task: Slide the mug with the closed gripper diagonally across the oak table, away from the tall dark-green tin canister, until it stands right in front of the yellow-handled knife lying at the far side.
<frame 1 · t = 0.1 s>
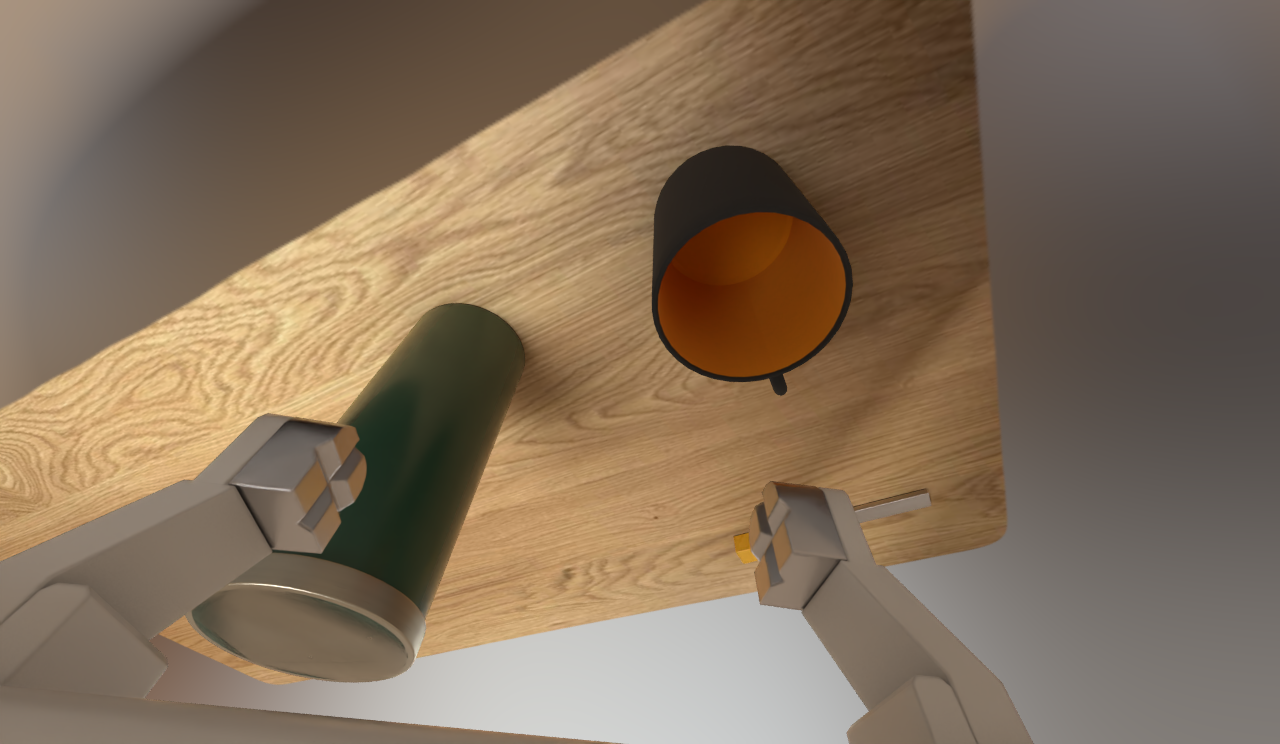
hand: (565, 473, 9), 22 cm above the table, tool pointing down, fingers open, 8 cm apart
mug: (732, 246, 29), on the table
canister: (470, 351, 34), on the table
knife: (821, 521, 45), on the table
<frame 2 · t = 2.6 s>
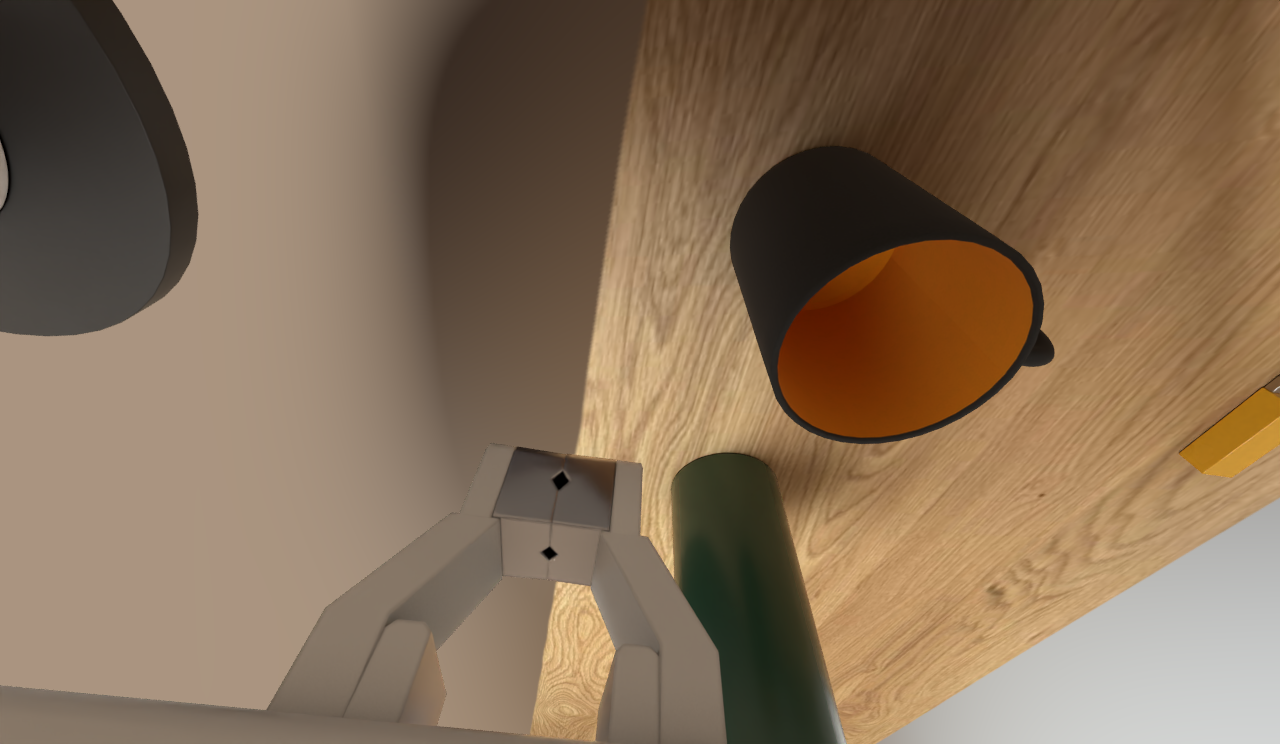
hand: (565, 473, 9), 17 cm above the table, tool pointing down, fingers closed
mug: (846, 241, 24), on the table
canister: (723, 488, 36), on the table
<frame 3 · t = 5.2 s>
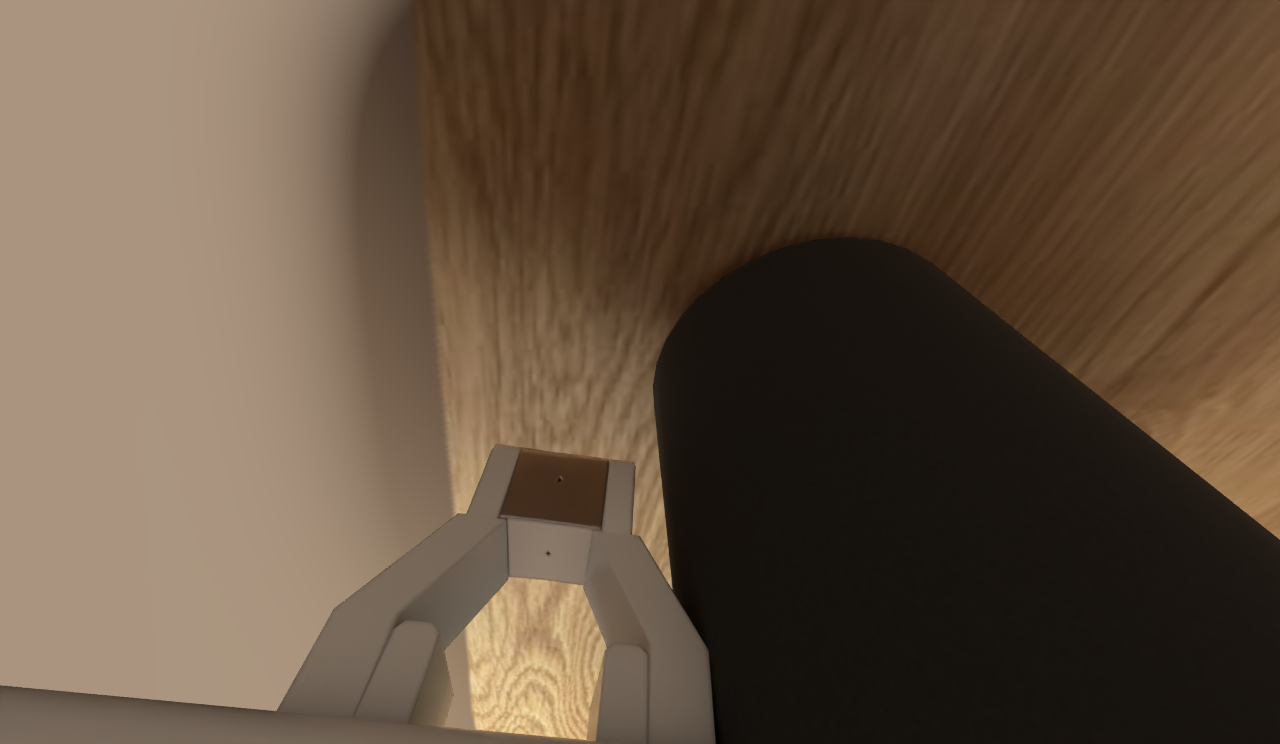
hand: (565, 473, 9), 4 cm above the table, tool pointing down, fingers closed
mug: (859, 384, 13), on the table, touching gripper
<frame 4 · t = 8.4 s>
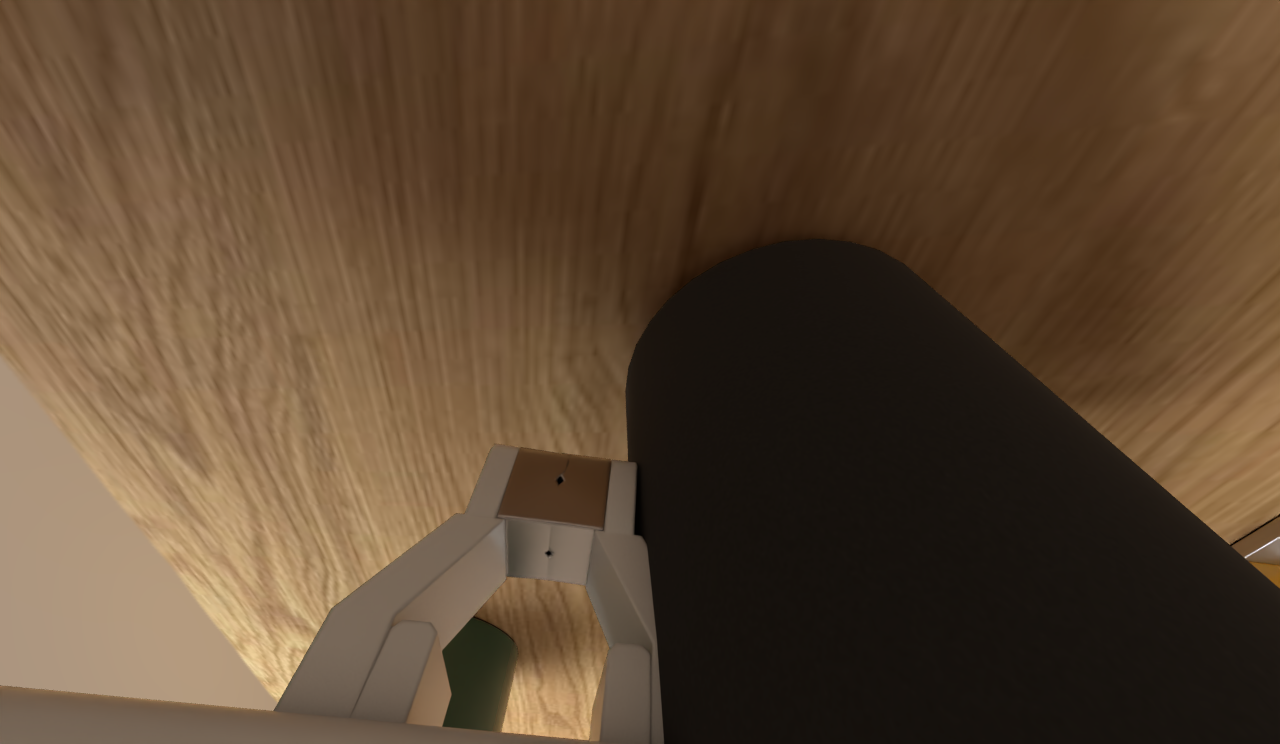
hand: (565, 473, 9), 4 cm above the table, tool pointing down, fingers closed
mug: (837, 387, 13), on the table, touching gripper
canister: (441, 644, 24), on the table
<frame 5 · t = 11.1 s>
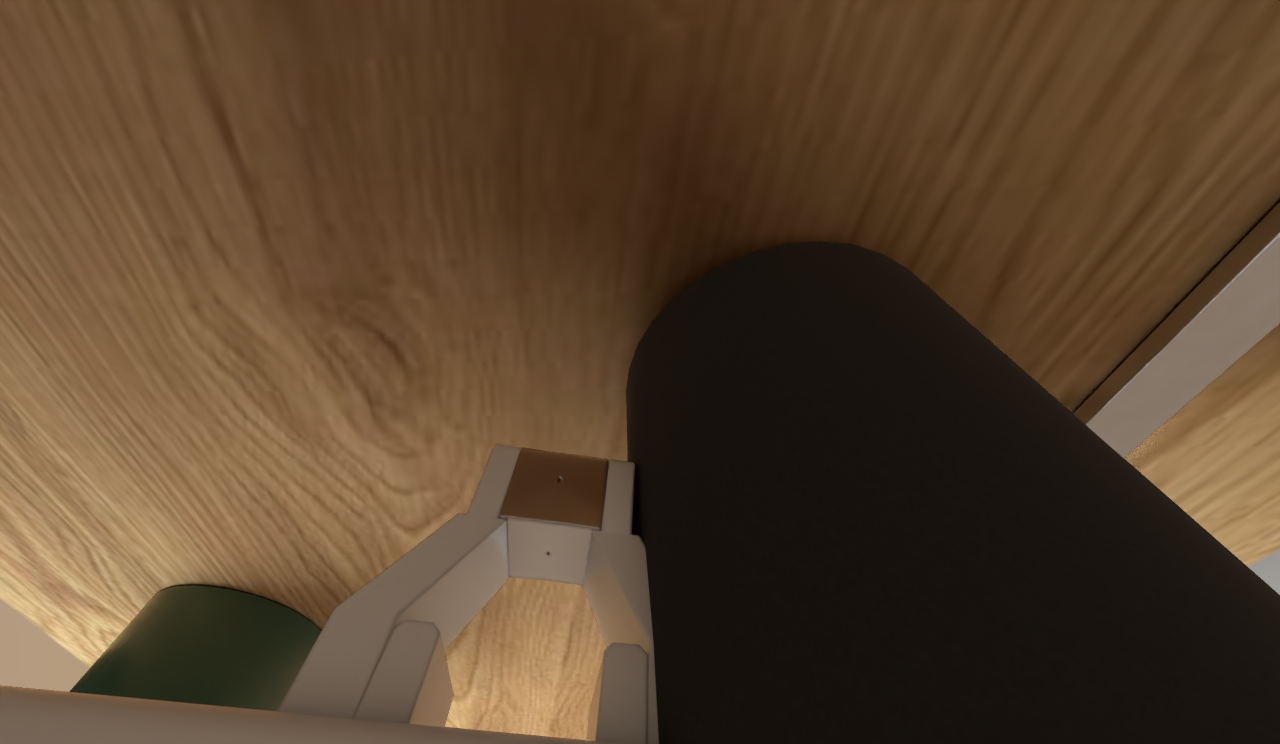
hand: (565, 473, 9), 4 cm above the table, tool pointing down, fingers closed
mug: (838, 391, 13), on the table, touching gripper
canister: (243, 625, 24), on the table
knife: (1045, 475, 15), on the table
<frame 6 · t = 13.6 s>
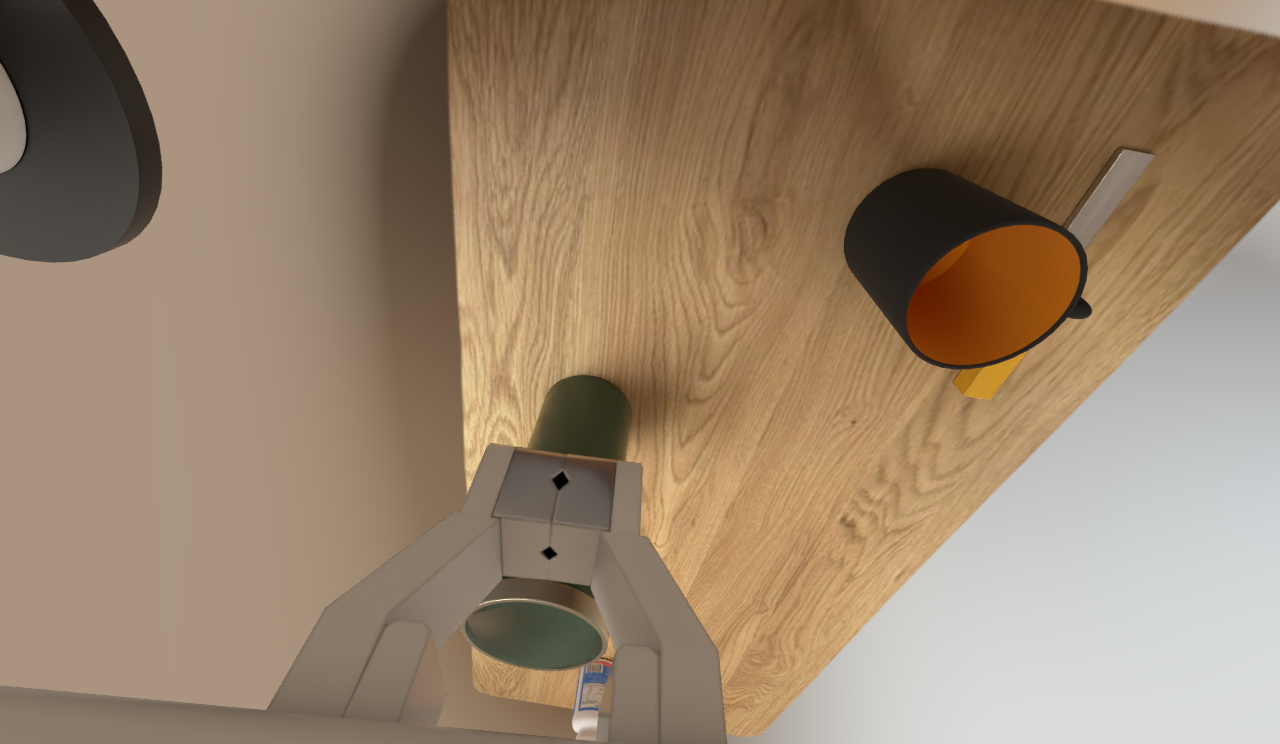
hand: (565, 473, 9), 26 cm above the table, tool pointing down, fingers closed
mug: (931, 238, 32), on the table
canister: (587, 410, 43), on the table
knife: (1031, 292, 34), on the table
pill bottle: (600, 664, 73), on the table
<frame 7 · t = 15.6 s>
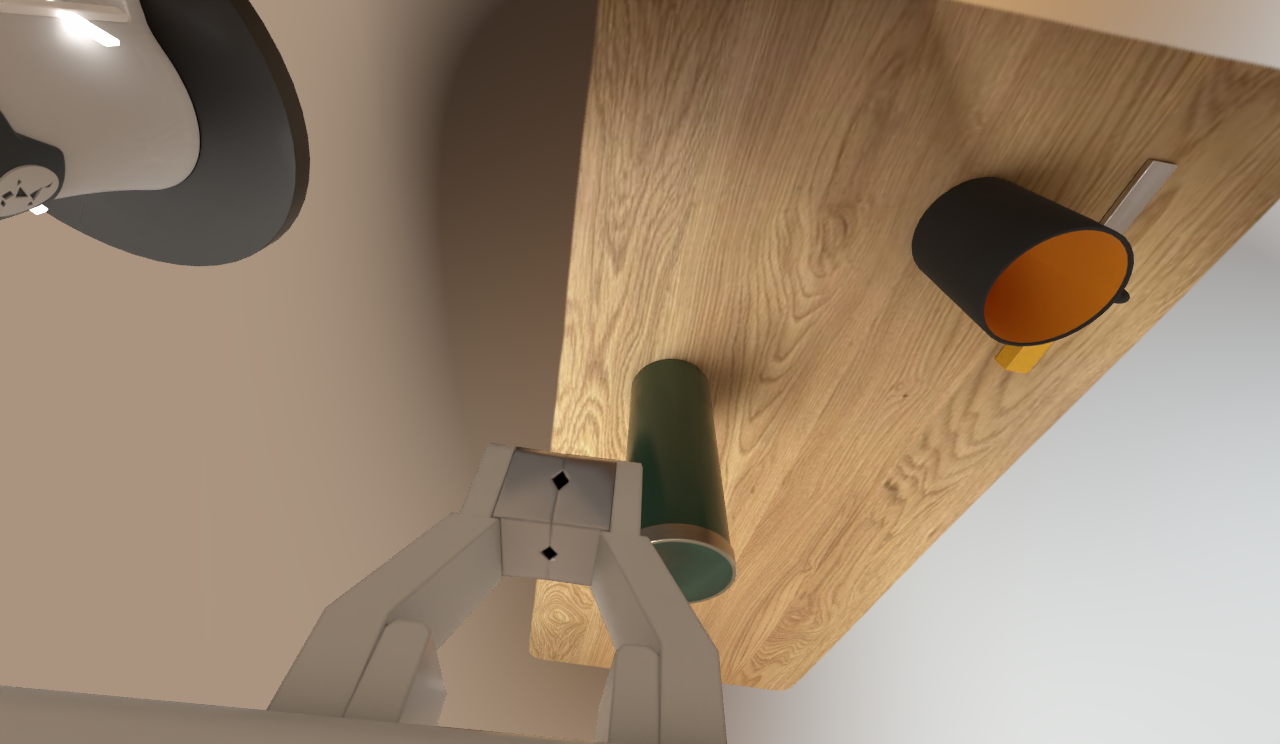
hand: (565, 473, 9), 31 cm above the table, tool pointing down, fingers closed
mug: (986, 235, 38), on the table
canister: (670, 390, 48), on the table
knife: (1067, 280, 39), on the table
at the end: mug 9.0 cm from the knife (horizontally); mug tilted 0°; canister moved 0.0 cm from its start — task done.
